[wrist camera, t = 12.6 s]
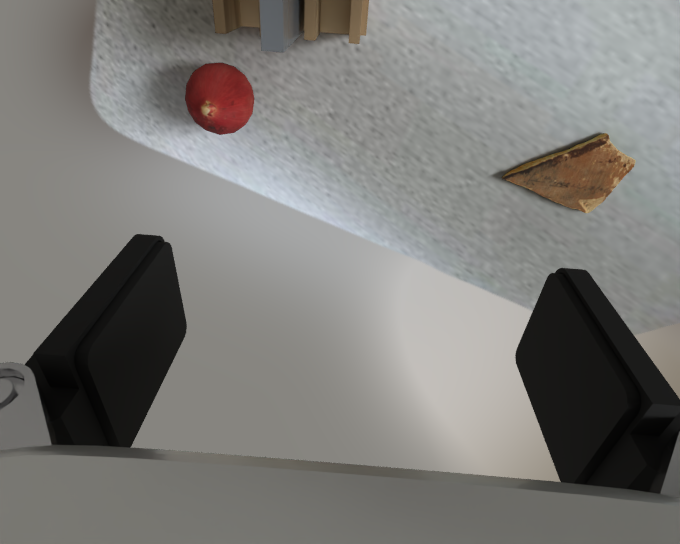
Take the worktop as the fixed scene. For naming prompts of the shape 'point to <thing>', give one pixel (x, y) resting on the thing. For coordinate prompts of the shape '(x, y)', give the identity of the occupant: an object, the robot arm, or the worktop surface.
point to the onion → (219, 98)
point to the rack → (320, 16)
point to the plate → (280, 23)
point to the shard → (576, 174)
